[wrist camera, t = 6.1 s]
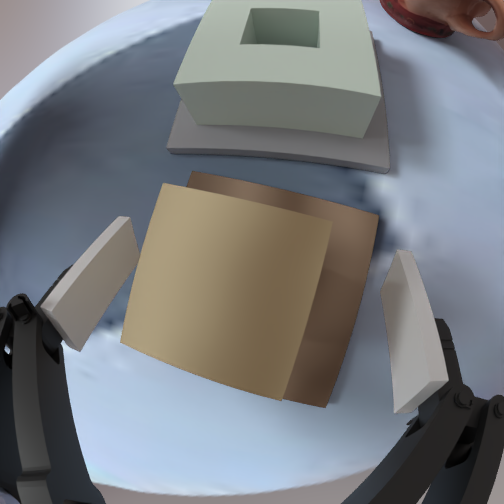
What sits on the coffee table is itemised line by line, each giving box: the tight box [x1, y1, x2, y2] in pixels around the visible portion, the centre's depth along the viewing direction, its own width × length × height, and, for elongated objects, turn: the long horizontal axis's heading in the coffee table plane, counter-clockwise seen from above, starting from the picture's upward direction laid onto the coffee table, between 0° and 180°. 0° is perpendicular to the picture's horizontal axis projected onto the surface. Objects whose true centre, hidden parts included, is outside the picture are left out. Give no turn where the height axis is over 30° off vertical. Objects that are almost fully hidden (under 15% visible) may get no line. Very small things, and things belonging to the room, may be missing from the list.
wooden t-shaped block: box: [120, 171, 379, 408], centre depth 13 cm, size 13×13×11 cm
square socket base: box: [166, 0, 390, 174], centre depth 17 cm, size 16×16×6 cm
